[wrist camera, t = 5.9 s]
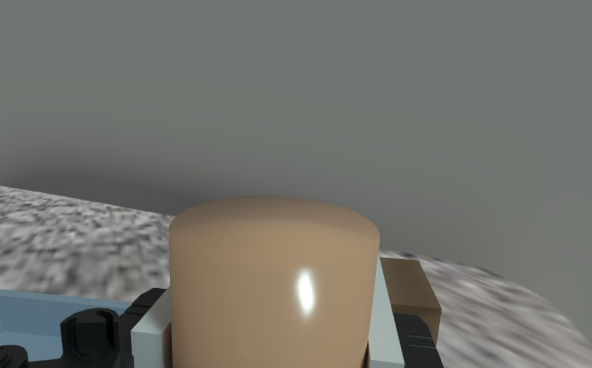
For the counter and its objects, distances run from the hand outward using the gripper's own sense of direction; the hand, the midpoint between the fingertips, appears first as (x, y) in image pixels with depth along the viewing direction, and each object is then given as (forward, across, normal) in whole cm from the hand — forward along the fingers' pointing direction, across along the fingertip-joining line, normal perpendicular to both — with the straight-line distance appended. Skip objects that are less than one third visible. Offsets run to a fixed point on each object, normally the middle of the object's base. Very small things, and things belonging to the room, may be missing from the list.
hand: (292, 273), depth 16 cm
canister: (-5, 0, -6) cm, 8 cm away
